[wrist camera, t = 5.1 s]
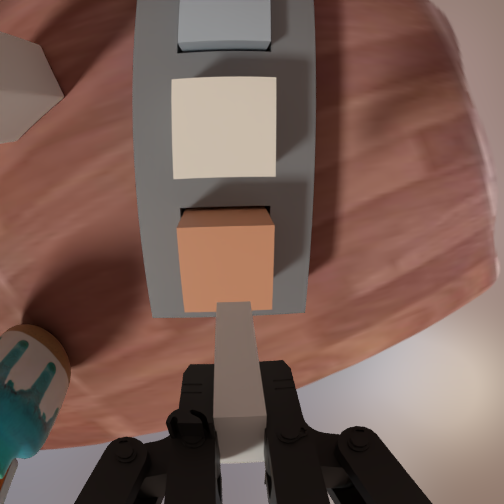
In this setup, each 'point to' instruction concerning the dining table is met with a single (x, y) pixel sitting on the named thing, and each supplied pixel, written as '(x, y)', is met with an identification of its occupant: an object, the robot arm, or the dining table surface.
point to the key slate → (224, 25)
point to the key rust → (226, 257)
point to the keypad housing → (225, 188)
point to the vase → (29, 390)
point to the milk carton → (24, 86)
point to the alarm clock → (7, 480)
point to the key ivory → (223, 127)
